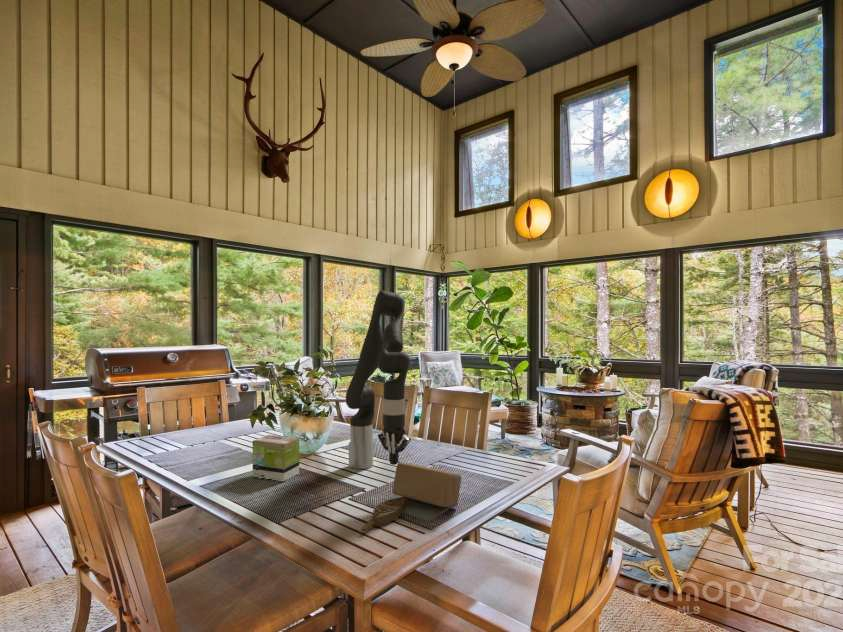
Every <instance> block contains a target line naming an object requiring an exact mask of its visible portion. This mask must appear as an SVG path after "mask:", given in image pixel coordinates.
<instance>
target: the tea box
mask: <svg viewBox="0 0 843 632" xmlns="http://www.w3.org/2000/svg"><path fill="white" fill-rule="evenodd" d="M297 474H298V475H300V438H299V437H291V436H284V435H283V436H282V435H276V434H275V435H272V434H267V435H265V436H262V437H260V438H257V439H254V440H252V477H253V476H255V477H263V478H269V479H275V480H281V481H285V480H287V479H289V478H291V477H293V476H295V475H297ZM298 475H297V476H298ZM295 477H296V476H295ZM293 478H294V477H293ZM291 479H292V478H291Z"/></svg>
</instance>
